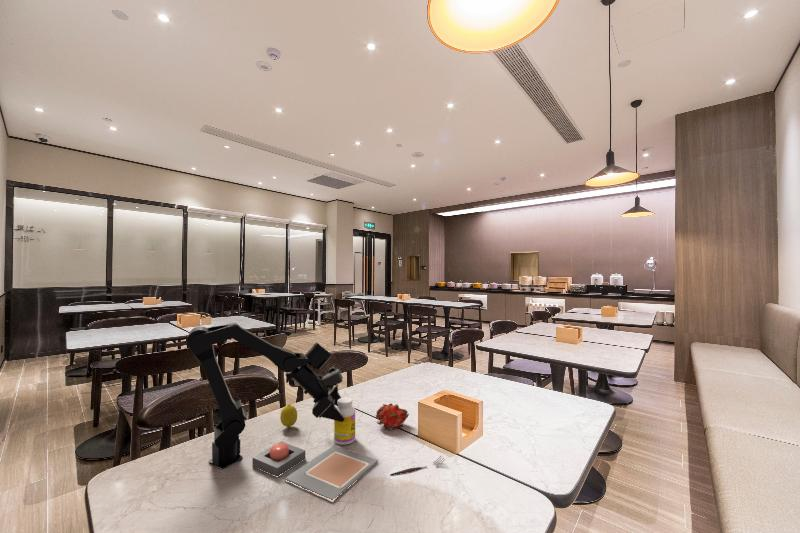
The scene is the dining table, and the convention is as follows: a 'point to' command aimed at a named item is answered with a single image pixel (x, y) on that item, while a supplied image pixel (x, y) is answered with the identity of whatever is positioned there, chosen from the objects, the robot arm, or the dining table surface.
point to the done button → (279, 451)
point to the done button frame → (279, 467)
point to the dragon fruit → (391, 416)
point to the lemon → (288, 415)
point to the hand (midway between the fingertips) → (344, 414)
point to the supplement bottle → (345, 422)
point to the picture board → (332, 471)
